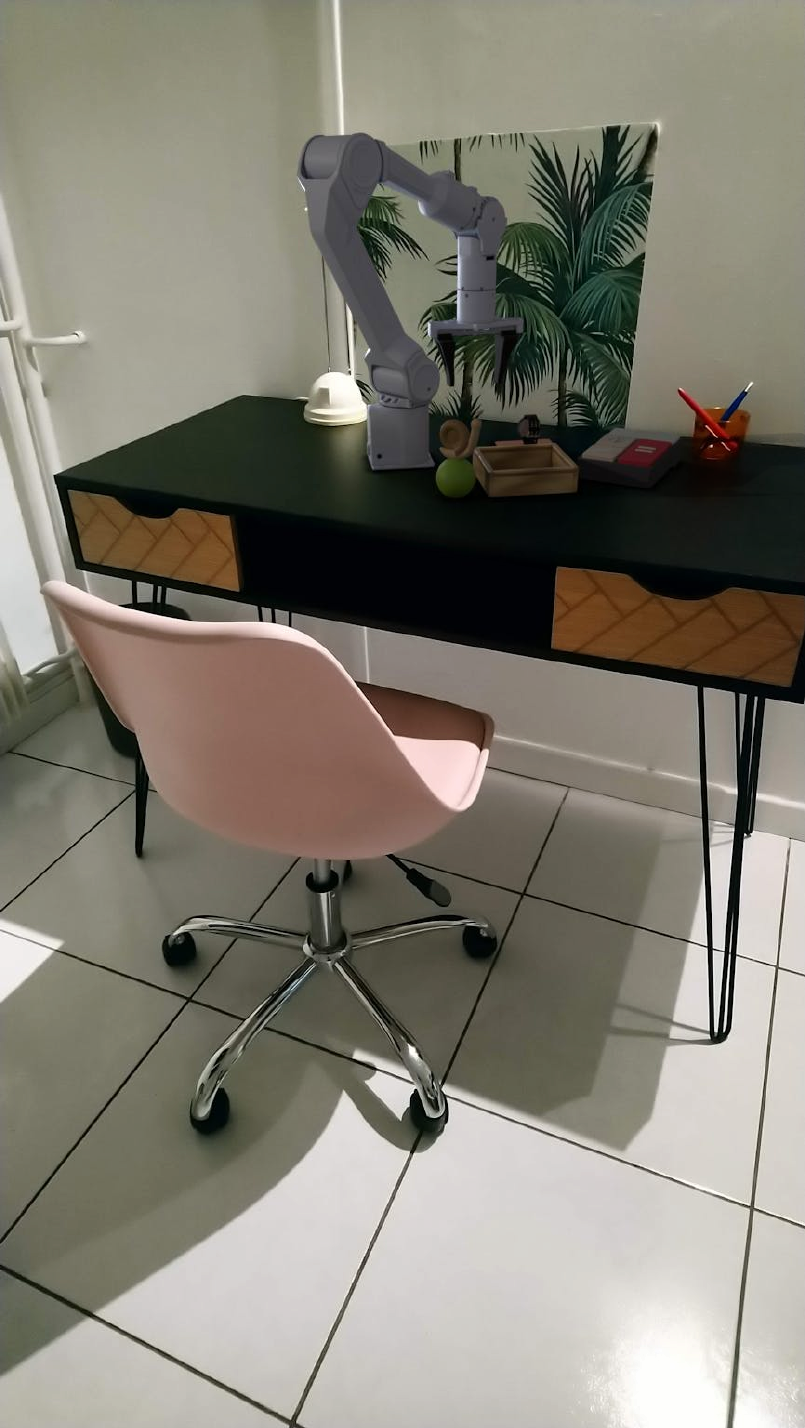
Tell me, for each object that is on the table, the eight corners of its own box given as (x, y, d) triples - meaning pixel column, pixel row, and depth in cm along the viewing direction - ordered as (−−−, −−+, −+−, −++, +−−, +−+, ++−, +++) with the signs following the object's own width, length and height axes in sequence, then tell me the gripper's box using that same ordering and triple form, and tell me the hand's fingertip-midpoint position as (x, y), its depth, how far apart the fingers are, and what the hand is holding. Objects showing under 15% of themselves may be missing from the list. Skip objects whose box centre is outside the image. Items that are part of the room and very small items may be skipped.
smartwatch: (543, 443, 143) (545, 411, 140) (538, 452, 139) (540, 419, 136) (518, 442, 144) (519, 410, 141) (512, 451, 140) (513, 418, 137)
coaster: (506, 459, 137) (506, 457, 137) (494, 443, 145) (495, 441, 145) (563, 456, 138) (563, 453, 138) (549, 441, 146) (549, 438, 145)
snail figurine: (469, 507, 119) (471, 415, 113) (428, 499, 122) (428, 409, 116) (488, 495, 123) (491, 406, 116) (448, 488, 126) (448, 400, 119)
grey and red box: (577, 453, 126) (613, 423, 137) (575, 482, 129) (611, 451, 139) (653, 463, 122) (685, 431, 132) (649, 493, 124) (681, 460, 134)
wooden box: (488, 497, 122) (489, 472, 120) (472, 470, 133) (472, 447, 131) (577, 492, 123) (579, 467, 121) (554, 466, 134) (555, 442, 132)
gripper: (434, 294, 128) (434, 392, 136) (531, 289, 130) (526, 386, 138) (424, 288, 134) (425, 382, 142) (517, 284, 136) (513, 377, 144)
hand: (474, 383), depth 140 cm, fingers open, 7 cm apart
